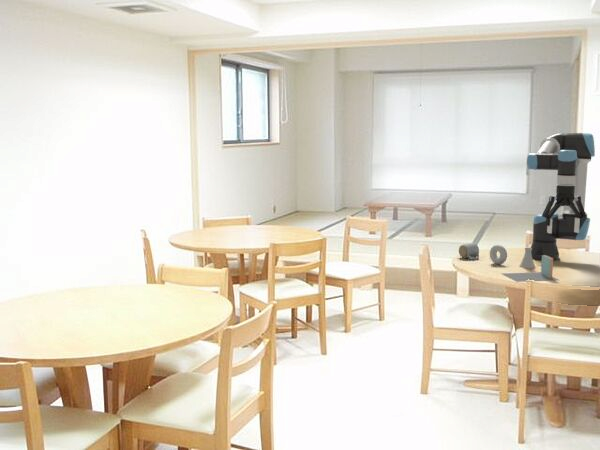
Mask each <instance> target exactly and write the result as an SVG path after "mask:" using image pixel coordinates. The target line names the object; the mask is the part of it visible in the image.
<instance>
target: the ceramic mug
mask: <svg viewBox="0 0 600 450" xmlns="http://www.w3.org/2000/svg"><path fill="white" fill-rule="evenodd" d="M479 253H480V249H479V246H478V245H477V243H476V242H470V243H465V244H462V245H460V246H459V248H458V255H459V256H460V257H461V258H463V259H470V260H471V261H472V260H473V261H477V260H479V259H480V258H479V257H480V255H479Z"/></svg>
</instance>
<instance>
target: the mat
mask: <svg viewBox="0 0 600 450" xmlns="http://www.w3.org/2000/svg"><path fill="white" fill-rule="evenodd" d="M501 275H503V276H504V277H507V278H508V279H511V280H512V281H514V282H516V283H517V282H520V283H521V282H527V281H526V280H528V279H529V280H534V281H533V282H546V281H550V282H551V281H553V282H554V281H559V279H558V278H557V277H556V278H555V277H554V276H552V278H547V277H545V276H543V275H541V271H540V272H539V271H538V272H537V271H536V272H513V273H512V272H509V273H507V272H506V273H501Z"/></svg>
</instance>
